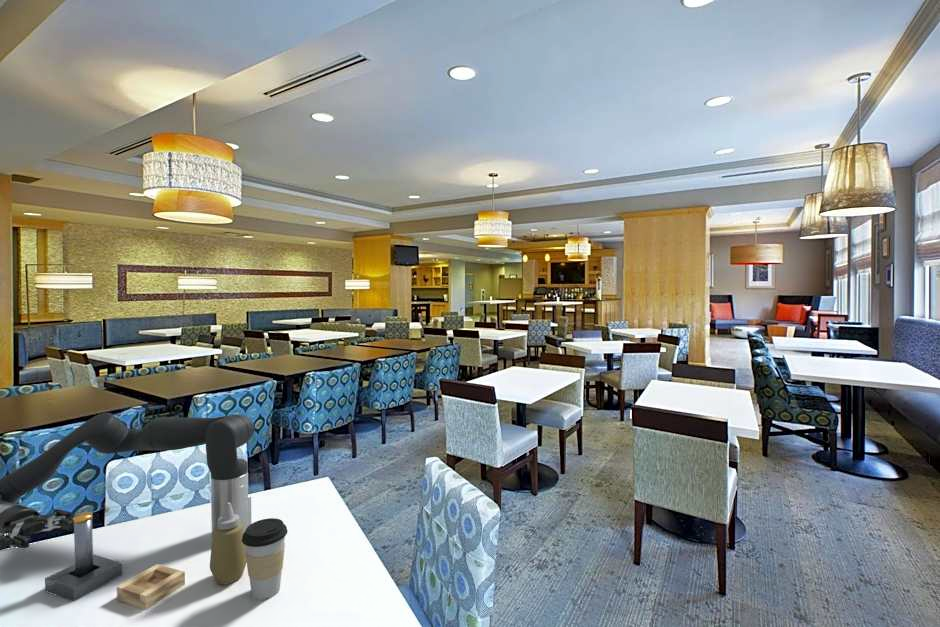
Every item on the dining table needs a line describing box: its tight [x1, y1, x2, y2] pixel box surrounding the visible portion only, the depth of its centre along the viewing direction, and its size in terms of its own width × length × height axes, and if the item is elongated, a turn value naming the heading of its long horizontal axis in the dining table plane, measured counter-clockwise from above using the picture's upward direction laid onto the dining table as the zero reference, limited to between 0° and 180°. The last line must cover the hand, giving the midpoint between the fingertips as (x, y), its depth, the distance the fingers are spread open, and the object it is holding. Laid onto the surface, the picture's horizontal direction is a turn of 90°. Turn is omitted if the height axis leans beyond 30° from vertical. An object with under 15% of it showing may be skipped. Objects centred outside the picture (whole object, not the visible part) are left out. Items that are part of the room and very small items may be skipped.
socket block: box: [44, 554, 123, 602], centre depth 105 cm, size 10×10×3 cm
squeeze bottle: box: [209, 502, 247, 585], centre depth 107 cm, size 8×8×18 cm
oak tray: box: [116, 563, 186, 610], centre depth 102 cm, size 9×9×3 cm
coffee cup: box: [242, 517, 288, 601], centre depth 102 cm, size 9×9×15 cm
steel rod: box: [72, 511, 94, 578], centre depth 104 cm, size 3×3×16 cm
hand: (49, 534), depth 108 cm, fingers open, 8 cm apart
